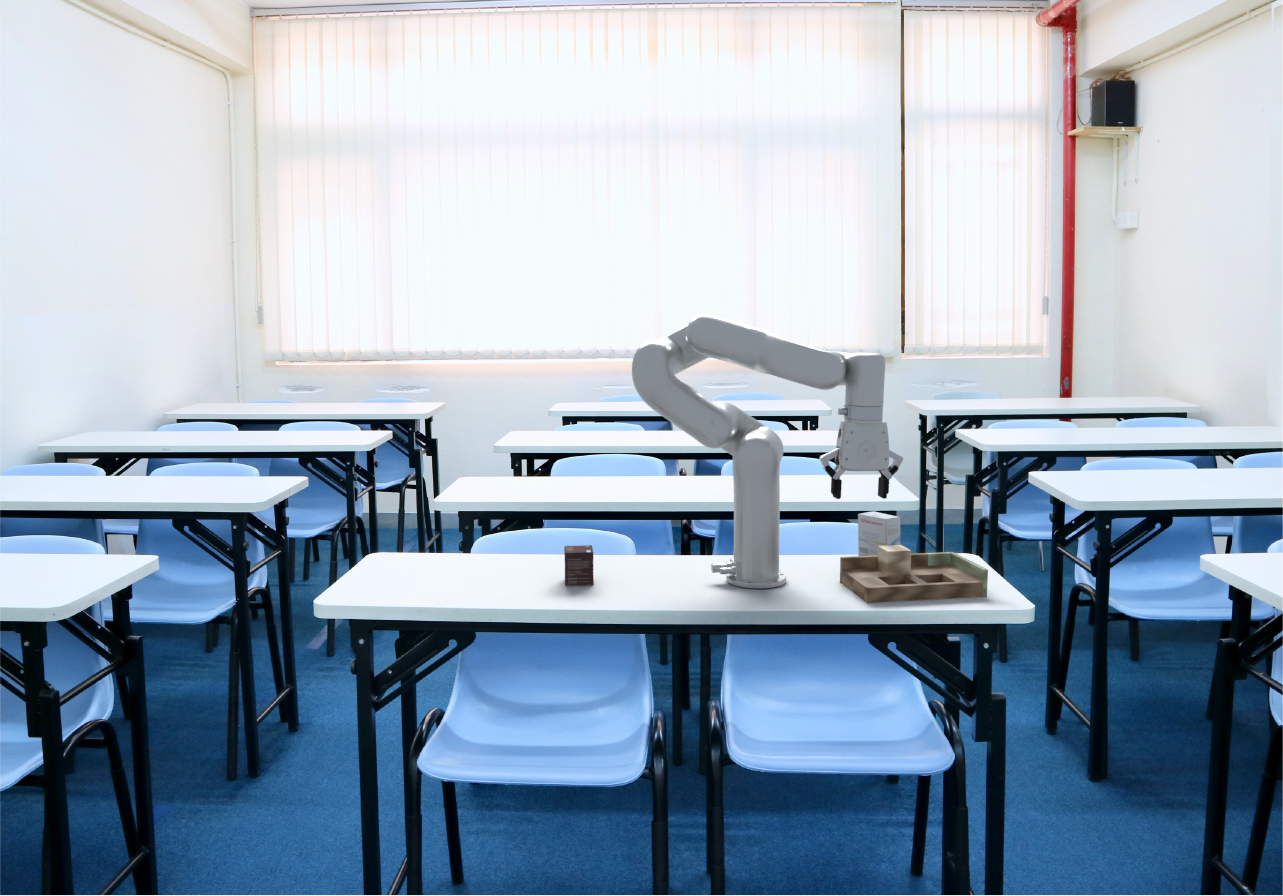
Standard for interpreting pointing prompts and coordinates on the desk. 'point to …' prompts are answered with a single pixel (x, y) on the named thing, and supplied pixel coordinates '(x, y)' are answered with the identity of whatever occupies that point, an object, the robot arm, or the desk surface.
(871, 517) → the ink box
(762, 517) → the robot arm
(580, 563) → the box
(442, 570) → the desk surface
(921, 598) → the tray
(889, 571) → the beech block
